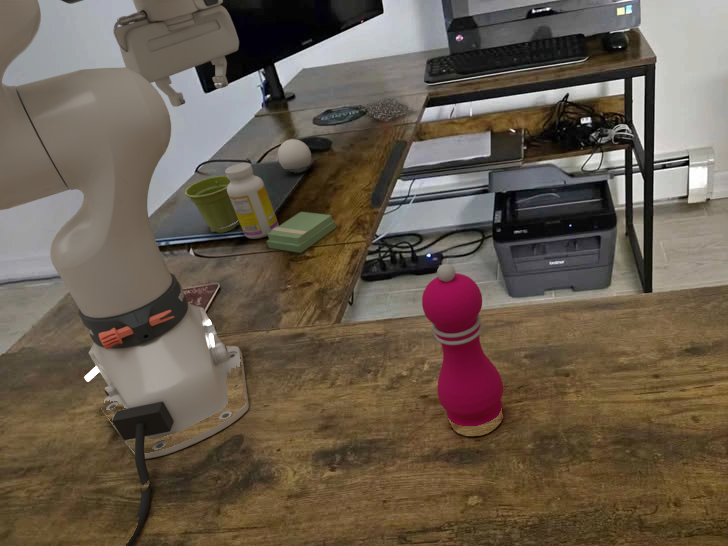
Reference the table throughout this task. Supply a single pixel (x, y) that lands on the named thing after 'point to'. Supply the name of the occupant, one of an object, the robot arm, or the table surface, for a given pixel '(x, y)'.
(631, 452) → the table surface
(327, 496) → the table surface
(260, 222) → the supplement bottle
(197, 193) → the plant pot
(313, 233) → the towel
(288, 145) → the white rounded piece
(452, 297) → the pepper mill
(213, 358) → the robot arm
